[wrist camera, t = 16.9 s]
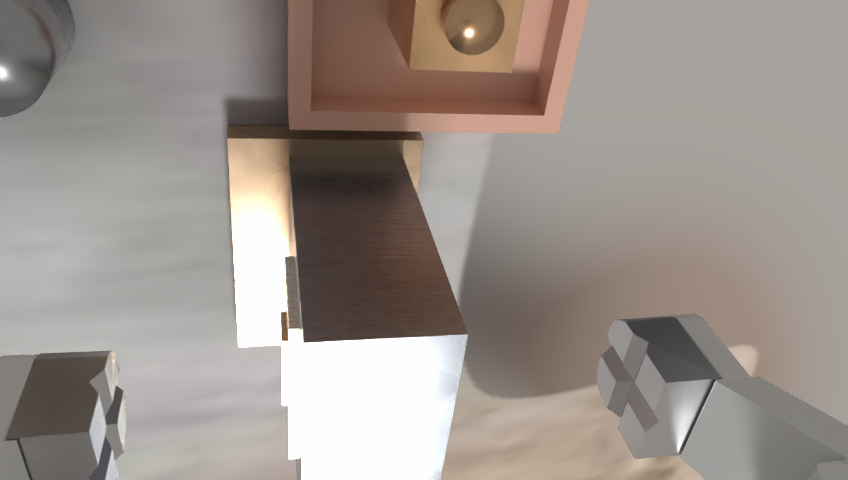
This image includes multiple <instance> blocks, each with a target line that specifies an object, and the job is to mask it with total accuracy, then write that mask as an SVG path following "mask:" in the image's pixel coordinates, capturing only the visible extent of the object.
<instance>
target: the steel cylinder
mask: <svg viewBox="0 0 848 480" xmlns="http://www.w3.org/2000/svg"><path fill="white" fill-rule="evenodd" d="M74 31H75V27H74V20H73V16H72V12H71V10H70V7H69V5H68V3H67V1H66V0H0V117H5V116H10V115H14V114H17V113H19V112H22V111H24V110H25V109H27V108H29V107H30V106H31V105H32V104H34V103H35V102H36V101H37V100H38V98H39V97H40V96H41V94H42V93H43V91H44V90H45V88H46V86H47V85H48V83H49V82H50V80H51V79H52V77H53V75H54V74H55V72H56V71H57V69H58V68H59V66H60V64H61V63H62V61H63V60H64V58H65V57H66V55H67V53H68V52H69V50H70V48H71V46H72V43H73V39H74Z"/></svg>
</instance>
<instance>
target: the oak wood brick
mask: <svg viewBox="0 0 848 480" xmlns="http://www.w3.org/2000/svg"><path fill="white" fill-rule="evenodd" d="M524 4H525V0H389V6H388V19H387V25H388V27H389V29H390V31H391V33H392V35H393V37H394V39H395V41H396V43H397V46H398V48H399V50H400V52H401V54H402V56H403V58H404V60H405V62H406V64H407V66H408V68H409V69H414V70H443V71H472V72H501V73H512V68H513V63H514V58H515V52H516V47H517V42H518V36H519V31H520V25H521V20H522V15H523V9H524Z"/></svg>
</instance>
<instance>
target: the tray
mask: <svg viewBox="0 0 848 480" xmlns="http://www.w3.org/2000/svg"><path fill="white" fill-rule="evenodd" d="M588 5H589V0H525V4H524V9H523V15H522V20H521V25H520V31H519V36H518V42H517V47H516V52H515V58H514V63H513V68H512V73H501V72H472V71H443V70H414V69H409V68H408V66H407V64H406V62H405V60H404V58H403V56H402V54H401V52H400V50H399V48H398V46H397V43H396V41H395V39H394V37H393V35H392V33H391V31H390V29H389V27H388V25H387V19H388V6H389V0H288V118H289V129H290V130H351V131H420V132H489V133H558V131H559V127H560V123H561V118H562V114H563V110H564V106H565V101H566V97H567V93H568V89H569V85H570V81H571V76H572V72H573V68H574V63H575V59H576V55H577V51H578V47H579V43H580V38H581V34H582V30H583V26H584V22H585V17H586V13H587V9H588Z"/></svg>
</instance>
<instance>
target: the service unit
mask: <svg viewBox="0 0 848 480" xmlns="http://www.w3.org/2000/svg"><path fill="white" fill-rule="evenodd" d="M423 143H424V140H423V138H422V135H421V133H420V131H351V130H290V129H289V126H238V125H228V134H227V144H228V163H229V181H230V200H231V218H232V236H233V255H234V273H235V292H236V310H237V328H238V347H251V346H270V345H281V388H282V405H286V407H287V429H288V451H289V459H296V471H297V480H440V478H441V473H442V468H443V463H444V457H445V452H446V447H447V442H448V437H449V431H450V426H451V421H452V416H453V410H454V405H455V400H456V395H457V390H458V384H459V379H460V374H461V369H462V364H463V358H464V353H465V348H466V343H467V338H468V333H467V330H466V327H465V324H464V322H463V319H462V316H461V314H460V311H459V308H458V305H457V303H456V300H455V297H454V294H453V292H452V289H451V286H450V283H449V281H448V278H447V275H446V272H445V270H444V267H443V264H442V262H441V259H440V256H439V253H438V251H437V248H436V245H435V242H434V240H433V237H432V234H431V231H430V229H429V226H428V223H427V221H426V218H425V215H424V212H423V210H422V207H421V204H420V201H419V199H418V196H417V193H418V184H419V176H420V168H421V159H422V151H423Z"/></svg>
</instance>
